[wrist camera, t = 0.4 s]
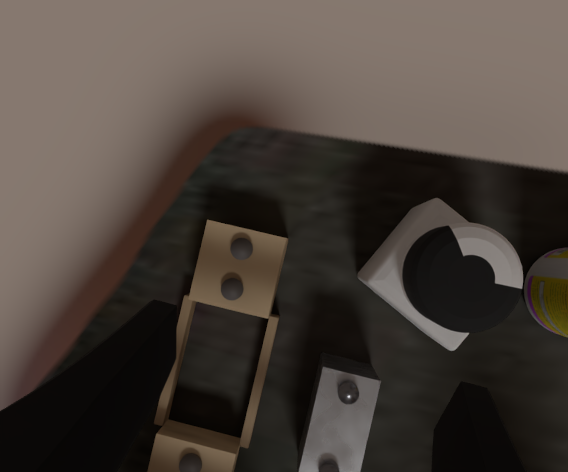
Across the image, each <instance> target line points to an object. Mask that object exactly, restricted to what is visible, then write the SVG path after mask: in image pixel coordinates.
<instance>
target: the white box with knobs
mask: <svg viewBox="0 0 568 472" xmlns="http://www.w3.org/2000/svg"><path fill="white" fill-rule="evenodd" d="M380 383H381V381H380V379H379V377H378V375H377V373H376V372H375V370H374V368H373V366H372V365H371V364H367V363H363V362H359V361H355V360H351V359H347V358H343V357H339V356H335V355H331V354H327V353H323V352H321V355H320V359H319V364H318V368H317V372H316V377H315V381H314V385H313V389H312V394H311V398H310V402H309V407H308V411H307V415H306V420H305V424H304V428H303V432H302V437H301V441H300V445H299V450H298V458H297V472H360V470H361V465H362V461H363V457H364V452H365V448H366V444H367V439H368V435H369V431H370V426H371V422H372V418H373V413H374V409H375V404H376V400H377V396H378V391H379V387H380Z"/></svg>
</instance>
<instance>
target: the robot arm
mask: <svg viewBox="0 0 568 472" xmlns="http://www.w3.org/2000/svg"><path fill="white" fill-rule="evenodd" d="M176 342H177V306H176V305H173V304H169V303H165V302H161V301H158V300H153V301H151V302H149V303H148V304H147V305H146V306H145V307H144V308H142V309H141V310H140V311H139V312H138V313H137V314H135V315H134V316H133V317H132V318H131V319H129V320H128V321H127V322H126V323H125V324H123V325H122V326H121V327H120V328H119V329H117V330H116V331H115V332H114V333H112V334H111V335H110V336H109V337H108V338H106V339H105V340H104V341H102V342H101V343H100V344H99V345H97V346H96V347H95V348H93V349H92V350H91V351H89V352H88V353H87V354H86V355H84V356H83V357H82V358H80V359H79V360H78V361H76V362H75V363H73V364H72V365H70V366H69V367H68V368H66V369H65V370H63V371H62V372H61V373H59V374H58V375H56V376H55V377H53V378H52V379H51V380H49V381H48V382H46V383H45V384H43V385H42V386H40V387H39V388H37V389H36V390H34V391H32V392H31V393H29V394H28V395H26V396H24V397H23V398H21V399H20V400H18V401H16V402H15V403H13V404H11V405H10V406H8V407H6V408H5V409H3V410H1V411H0V472H117V470H118V469H119V467H120V465H121V464H122V462H123V460H124V458H125V457H126V455H127V453H128V451H129V450H130V448H131V446H132V444H133V443H134V441H135V439H136V437H137V436H138V434H139V432H140V430H141V429H142V427H143V425H144V424H145V422H146V420H147V418H148V416H149V415H150V413H151V411H152V409H153V408H154V406H155V404H156V402H157V401H158V399H159V397H160V395H161V393H162V391H163V389H164V386H165V384H166V382H167V380H168V377H169V375H170V372H171V370H172V368H173V365H174V363H175V360H176ZM432 472H527V471H526V469H525V467H524V465H523V463H522V461H521V459H520V457H519V455H518V453H517V451H516V449H515V447H514V445H513V443H512V441H511V439H510V436H509V434H508V432H507V430H506V428H505V426H504V423H503V421H502V419H501V417H500V415H499V412H498V410H497V408H496V406H495V404H494V401H493V399H492V397H491V395H490V392H489V391H488V389H487V388H485V387H481V386H477V385H473V384H470V383H466V382H462V381H461V382H460V384H459V386H458V388H457V389H456V391H455V393H454V395H453V397H452V398H451V400H450V402H449V404H448V406H447V407H446V409H445V411H444V413H443V414H442V416H441V418H440V420H439V422H438V423H437V425H436V427H435V429H434V437H433V452H432Z"/></svg>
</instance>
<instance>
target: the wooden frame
mask: <svg viewBox="0 0 568 472" xmlns="http://www.w3.org/2000/svg"><path fill="white" fill-rule="evenodd" d="M287 244H288V239H287V238H284V237H279V236H275V235H271V234H266V233H262V232H258V231H254V230H249V229H245V228H241V227H237V226H232V225H228V224H224V223H219V222H215V221H211V220H207V223H206V227H205V232H204V236H203V240H202V244H201V248H200V253H199V257H198V261H197V265H196V269H195V274H194V278H193V282H192V286H191V290H190V294H187V295H184V299H183V303H182V308H181V312H180V316H179V320H178V324H177V342H176V360H175V363H174V365H173V368H172V370H171V372H170V375H169V377H168V380H167V382H166V384H165V386H164V389H163V391H162V393H161V396H160V400H159V404H158V408H157V412H156V417H155V421H154V424H156V425H160V426H162V427H161V429H160V430H159V431H158V432H157V433H156V437H155V441H154V446H153V450H152V454H151V458H150V462H149V467H148V471H147V472H234V470H235V465H236V461H237V457H238V453H239V448H240V446H241V447H245V448H248V447H249V444H250V441H251V436H252V432H253V428H254V424H255V419H256V415H257V411H258V406H259V402H260V398H261V394H262V389H263V385H264V381H265V377H266V372H267V368H268V364H269V359H270V355H271V351H272V347H273V342H274V338H275V334H276V329H277V325H278V321H279V317H280V316H279V315H275V314H271V312H272V308H273V303H274V299H275V295H276V290H277V286H278V282H279V278H280V273H281V269H282V265H283V261H284V256H285V252H286V248H287ZM196 301H197V302H201V303H205V304H209V305H213V306H218V307H222V308H226V309H230V310H234V311H238V312H242V313H246V314H250V315H254V316H259V317H263V318H267V319H268V318H269V320H268V325H267V329H266V333H265V338H264V342H263V346H262V350H261V355H260V359H259V363H258V367H257V372H256V376H255V380H254V384H253V389H252V393H251V397H250V402H249V406H248V410H247V414H246V419H245V423H244V427H243V431H242V436H241V438H238V437H234V436H231V435H227V434H223V433H219V432H215V431H211V430H207V429H204V428H200V427H196V426H192V425H188V424H184V423H181V422H177V421H173V420H169V414H170V410H171V406H172V402H173V398H174V393H175V389H176V385H177V381H178V377H179V372H180V368H181V364H182V360H183V356H184V351H185V347H186V343H187V339H188V335H189V330H190V326H191V322H192V318H193V314H194V309H195V305H196Z"/></svg>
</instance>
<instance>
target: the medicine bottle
mask: <svg viewBox="0 0 568 472" xmlns="http://www.w3.org/2000/svg"><path fill="white" fill-rule="evenodd" d="M357 276H358V278H359V280H361V281H362V282H363V283H364V284H365V285H367V286H368V287H369V288H370V289H371V290H373V291H374V292H375V293H376V294H378V295H379V296H380V297H381V298H382V299H384V300H385V301H386V302H387V303H388V304H390V305H391V306H392V307H393V308H395V309H396V310H397V311H398V312H399V313H401V314H402V315H403V316H404V317H405V318H407V319H408V320H409V321H410V322H411V323H413V324H414V325H415V326H416V327H418V328H419V329H420V330H421V331H422V332H424V333H425V334H426V335H428V336H429V337H431V338H432V339H434V340H435V341H436V342H438V343H439V344H441V345H442V346H443V347H445V348H446V349H448V350H450V351H453V350H455V349H457V347H458V346H459V345H460V344H461V343H462V341H463V340H464V339H465V338H466V337H467V335H468V334H469V333H475V332H481V331H484V330H487V329H490V328H492V327H494V326H496V325H498V324H499V323H501V322H502V321H503V320H504V319H505V318H507V317H508V316H509V314H510V313H511V312H512V311H513V309H514V308H515V306H516V304H517V303H518V300H519V298H520V295H521V291H522V286H523V271H522V265H521V262H520V259H519V257H518V255H517V253H516V251H515V249H514V248H513V246H512V245H511V244H510V242H509V241H508V240H507V239H506V238H505V237H503V236H502V235H501V234H500V233H498V232H497V231H495V230H494V229H491V228H489V227H487V226H484V225H481V224H476V223H469V222H468V221H467V220H466V219H464V218H463V217H462V216H461V215H459V214H458V213H457V212H456V211H454V210H453V209H452V208H451V207H449V206H448V205H447V204H446V203H444V202H443V201H442V200H441V199H439V198H434V199H431V200H429V201H427V202H425V203H422V204H420V205H418V206H415V207H413V208H412V209H411V210H410V211H409V212H408V213H407V214H406V216H405V217H404V218H403V219H402V220H401V222H400V223H399V224H398V225H397V226H396V228H395V229H394V230H393V231H392V233H391V234H390V235H389V236H388V237H387V239H386V240H385V241H384V242H383V243H382V245H381V246H380V247H379V248H378V249H377V251H376V252H375V253H374V254H373V255H372V257H371V258H370V259H369V260H368V261H367V263H366V264H365V265H364V266H363V267H362V269H361V270H360V271H359V272H358V274H357Z"/></svg>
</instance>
